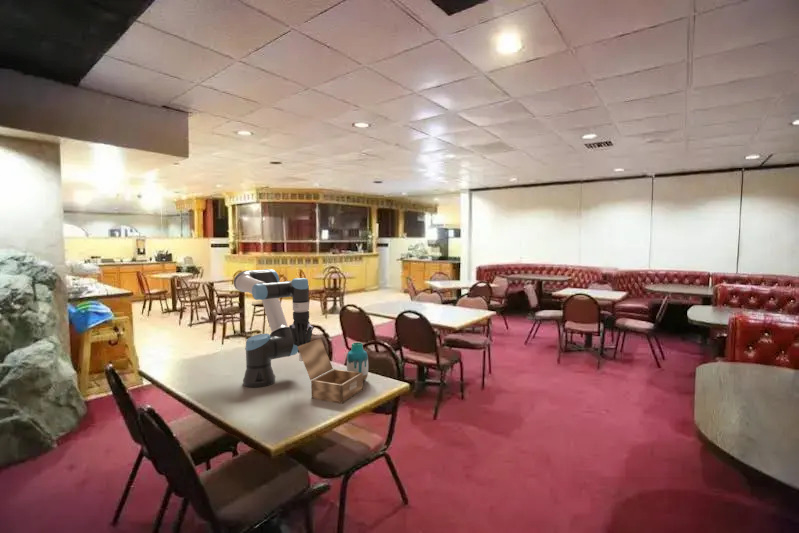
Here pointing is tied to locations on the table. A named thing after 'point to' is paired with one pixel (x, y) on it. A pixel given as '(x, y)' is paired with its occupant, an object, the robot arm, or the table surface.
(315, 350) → the flap
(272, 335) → the robot arm
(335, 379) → the wooden box
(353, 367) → the vase
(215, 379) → the table surface
